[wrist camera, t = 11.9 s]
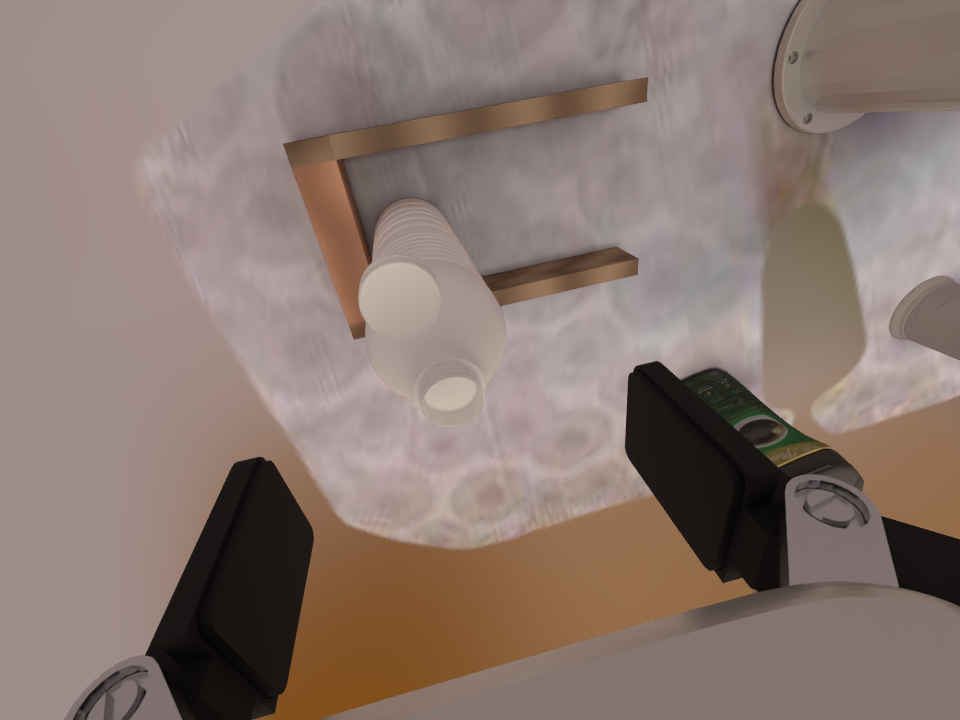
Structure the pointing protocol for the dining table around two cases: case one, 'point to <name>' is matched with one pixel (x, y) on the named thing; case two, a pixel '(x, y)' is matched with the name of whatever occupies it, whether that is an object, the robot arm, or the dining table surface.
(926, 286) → the glass holder
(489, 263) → the dining table surface
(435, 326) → the water bottle
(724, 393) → the coffee jar
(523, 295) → the channel
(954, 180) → the dining table surface
